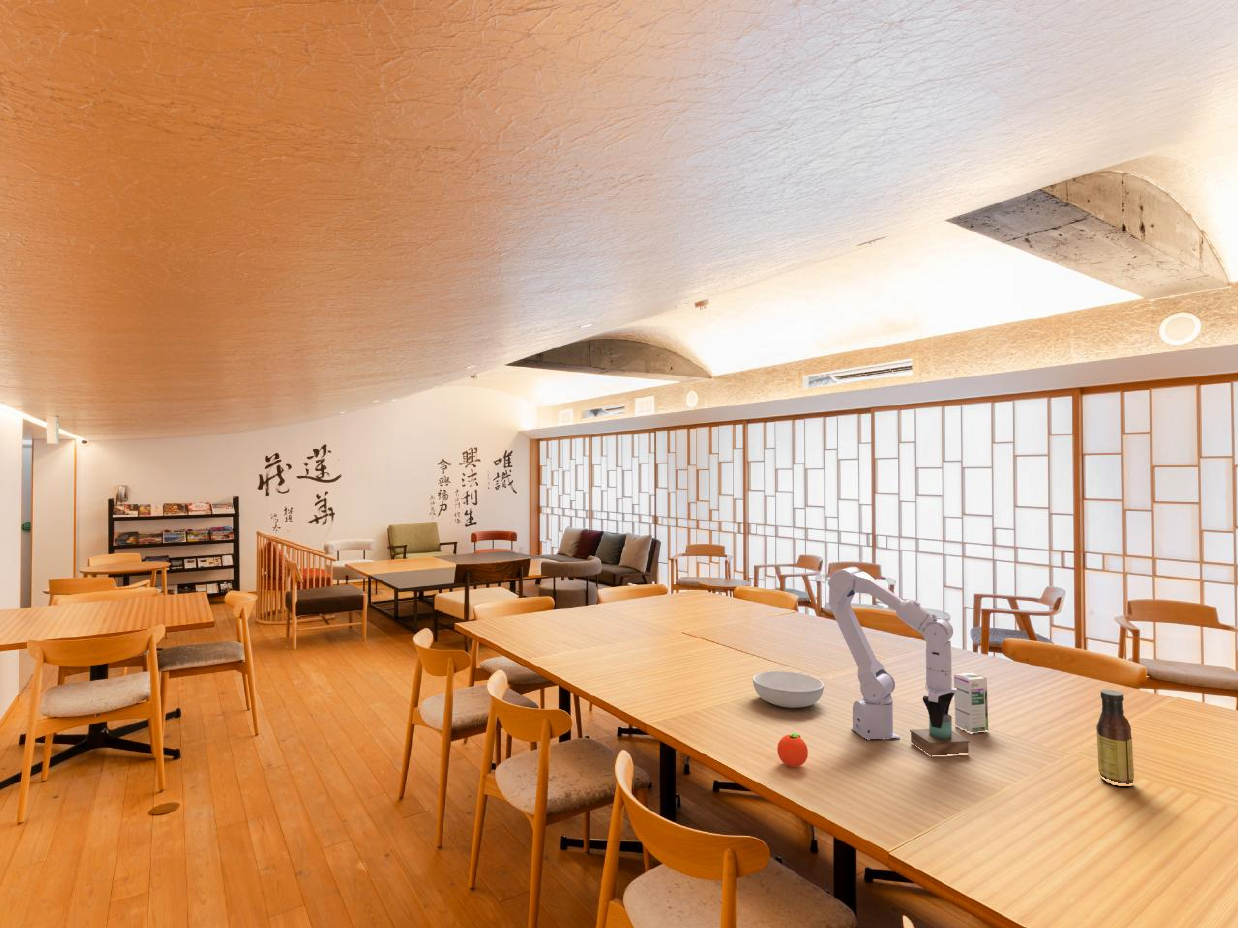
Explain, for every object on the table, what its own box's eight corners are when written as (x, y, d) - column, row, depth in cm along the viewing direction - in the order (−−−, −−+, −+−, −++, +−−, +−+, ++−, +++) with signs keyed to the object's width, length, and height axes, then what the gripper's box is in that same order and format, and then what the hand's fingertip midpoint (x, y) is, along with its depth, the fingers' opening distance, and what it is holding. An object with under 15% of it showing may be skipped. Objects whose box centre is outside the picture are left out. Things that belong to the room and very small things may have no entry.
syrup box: (971, 734, 167) (970, 679, 167) (953, 726, 173) (953, 672, 173) (988, 732, 168) (988, 677, 169) (970, 724, 174) (970, 671, 175)
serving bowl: (828, 718, 178) (828, 693, 179) (752, 712, 182) (752, 688, 183) (820, 694, 199) (820, 672, 199) (752, 689, 203) (752, 668, 203)
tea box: (930, 759, 152) (930, 742, 153) (910, 745, 161) (909, 729, 161) (970, 757, 154) (969, 740, 154) (947, 743, 162) (947, 727, 162)
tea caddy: (937, 739, 154) (937, 718, 155) (925, 731, 159) (924, 711, 160) (956, 739, 155) (956, 718, 155) (943, 731, 160) (943, 711, 160)
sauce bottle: (1118, 775, 144) (1116, 687, 144) (1141, 788, 137) (1139, 696, 138) (1090, 775, 143) (1088, 687, 144) (1112, 788, 137) (1110, 696, 138)
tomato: (786, 755, 153) (786, 725, 153) (814, 763, 149) (814, 732, 149) (772, 766, 147) (772, 735, 147) (800, 775, 142) (800, 743, 143)
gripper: (951, 678, 150) (951, 736, 149) (961, 664, 161) (962, 718, 161) (918, 672, 154) (919, 729, 154) (931, 660, 166) (931, 712, 165)
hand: (939, 723), depth 157 cm, fingers open, 6 cm apart
